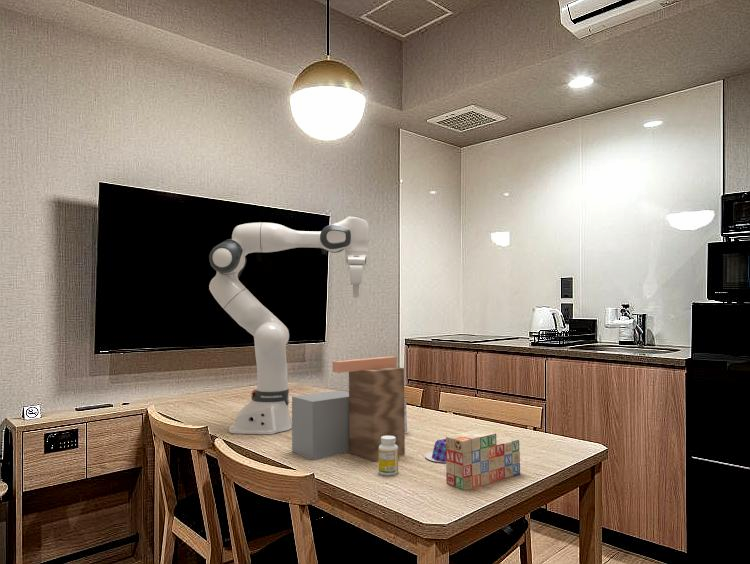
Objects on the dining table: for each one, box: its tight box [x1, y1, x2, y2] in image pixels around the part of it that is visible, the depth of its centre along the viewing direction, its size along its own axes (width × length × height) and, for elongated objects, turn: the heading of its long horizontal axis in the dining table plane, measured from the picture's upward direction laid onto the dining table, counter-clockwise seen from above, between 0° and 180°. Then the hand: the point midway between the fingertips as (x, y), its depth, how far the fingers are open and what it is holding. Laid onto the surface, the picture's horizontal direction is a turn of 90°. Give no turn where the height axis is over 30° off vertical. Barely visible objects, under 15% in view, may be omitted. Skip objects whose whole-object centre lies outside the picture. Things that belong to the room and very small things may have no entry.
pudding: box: [424, 438, 446, 463], centre depth 167 cm, size 12×12×5 cm
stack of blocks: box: [445, 428, 521, 491], centre depth 148 cm, size 21×6×12 cm, turn 126°
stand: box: [348, 367, 406, 463], centre depth 172 cm, size 12×12×26 cm
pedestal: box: [291, 390, 349, 461], centre depth 177 cm, size 18×12×17 cm, turn 128°
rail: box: [332, 355, 398, 374], centre depth 170 cm, size 22×3×3 cm, turn 128°
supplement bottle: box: [378, 436, 399, 477], centre depth 153 cm, size 5×5×10 cm
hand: (355, 297), depth 210 cm, fingers open, 8 cm apart
